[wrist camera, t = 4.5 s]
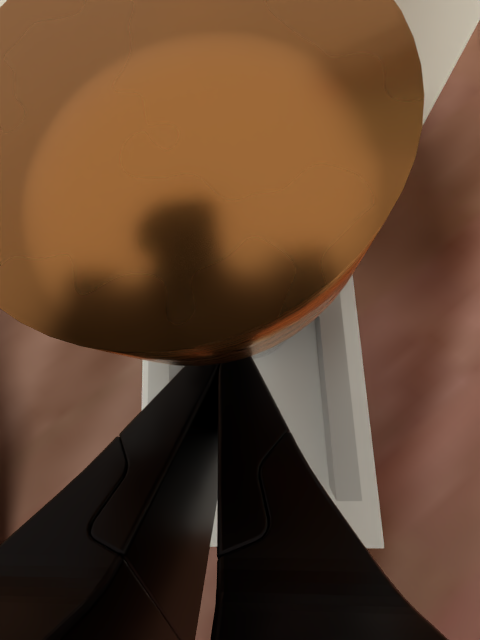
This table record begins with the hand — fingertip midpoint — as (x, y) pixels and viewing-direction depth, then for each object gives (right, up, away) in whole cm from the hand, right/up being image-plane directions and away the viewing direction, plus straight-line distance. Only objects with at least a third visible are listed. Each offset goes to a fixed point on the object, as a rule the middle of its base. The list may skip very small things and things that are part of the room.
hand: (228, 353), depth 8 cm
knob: (+1, +1, +5) cm, 6 cm away
